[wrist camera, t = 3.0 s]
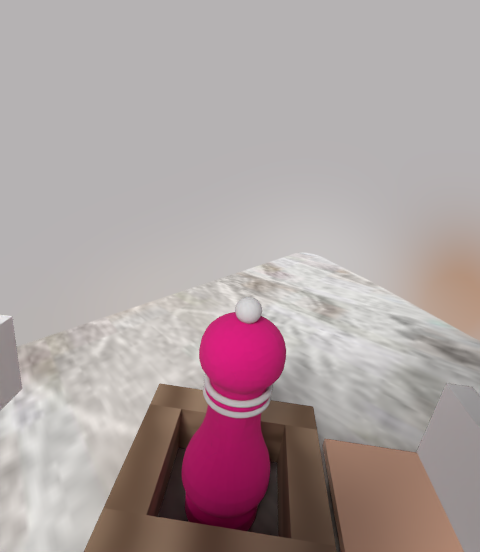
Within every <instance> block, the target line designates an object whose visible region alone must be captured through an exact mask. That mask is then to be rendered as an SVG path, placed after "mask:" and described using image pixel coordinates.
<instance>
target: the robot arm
mask: <svg viewBox="0 0 480 552" xmlns="http://www.w3.org/2000/svg"><path fill="white" fill-rule="evenodd" d="M21 389H22V384H21V377H20V369H19V362H18V355H17V348H16V340H15V333H14V326H13V319H12V316H6V315H0V410H1V409H2V408H3V407H4V406H5V405H6V404H7V403H8V402H9V401H10V400H11V399H12V398H13V397H14V396H15V395H16V394H17V393H18V392H19V391H20V390H21ZM417 453H418V456H419V458H420V460H421V462H422V464H423V466H424V468H425V470H426V472H427V475H428V477H429V479H430V481H431V483H432V485H433V487H434V489H435V491H436V494H437V496H438V498H439V500H440V502H441V504H442V506H443V508H444V510H445V512H446V515H447V517H448V519H449V521H450V523H451V525H452V527H453V529H454V531H455V534H456V536H457V538H458V540H459V542H460V544H461V546H462V548H463V550H464V552H480V395H479V394H478V393H477V392H476V391H475V389H474V388H473V387H469V386H463V385H456V384H450V383H446V385H445V387H444V389H443V392H442V394H441V396H440V399H439V401H438V403H437V406H436V408H435V410H434V412H433V415H432V417H431V419H430V422H429V424H428V426H427V429H426V431H425V433H424V436H423V438H422V440H421V443H420V445H419V447H418V449H417Z"/></svg>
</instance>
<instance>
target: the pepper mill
mask: <svg viewBox="0 0 480 552" xmlns="http://www.w3.org/2000/svg"><path fill="white" fill-rule="evenodd" d="M261 314H262V307H261V304H260V303H259V302H258V300H256V299H255V298H252V297H245V298H242V299H241V300H240V301H239V302H238V303H237V305H236V308H235V312H233V313H229V314H225V315H223V316H221V317H219V318H217V319H216V320H215V321H213V322H212V323H211V324H210V325H209V326H208V328H207V329H206V331H205V333H204V335H203V337H202V340H201V345H200V349H199V359H200V362H201V366H202V369H203V370H204V372H205V376H204V386H203V395H204V398H205V400H206V402H207V403H208V407H207V412H206V416H205V418H204V420H203V423H202V424H201V426H200V427H199V429H198V430H197V431H196V433H195V434H194V435H193V437H192V438H191V440H190V442H189V444H188V446H187V448H186V451H185V455H184V458H183V464H182V482H183V486H184V489H185V491H186V496H185V512H186V515H187V518H188V521H189V522H192V523H198V524H205V525H211V526H217V527H223V528H229V529H235V530H241V531H248V530H249V528H250V527H251V525H252V524H253V522H254V519H255V517H256V512H257V507H258V504H259V503H260V502H261V500H262V499H263V497H264V495H265V493H266V491H267V488H268V484H269V477H270V460H269V454H268V449H267V447H266V444H265V441H264V439H263V435H262V432H261V413H262V412H263V411H264V410H265V409H266V408H267V407H268V405H269V403H270V400H271V393H272V390H273V383H274V382H275V381H276V380H277V379H278V378H279V377H280V375H281V373H282V371H283V369H284V364H285V360H286V347H285V342H284V339H283V336H282V334H281V333H280V331H279V330H278V328H277V327H276V326H275V325H274V324H273V323H272V322H270V321H269V320H267V319H266V318H264V317H262V316H261Z"/></svg>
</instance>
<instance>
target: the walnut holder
mask: <svg viewBox="0 0 480 552" xmlns="http://www.w3.org/2000/svg"><path fill="white" fill-rule="evenodd" d="M207 407H208V403H207V402H206V400H205V398H204V395H203V390H199V389H192V388H186V387H179V386H172V385H166V384H159V386H158V388H157V391H156V393H155V395H154V397H153V400H152V402H151V404H150V406H149V408H148V411H147V413H146V415H145V417H144V419H143V422H142V424H141V426H140V428H139V431H138V433H137V435H136V437H135V439H134V442H133V444H132V446H131V448H130V450H129V453H128V455H127V457H126V459H125V462H124V464H123V466H122V468H121V470H120V473H119V475H118V477H117V479H116V481H115V484H114V486H113V488H112V490H111V493H110V495H109V497H108V499H107V501H106V504H105V506H104V508H103V510H102V513H101V515H100V517H99V519H98V521H97V524H96V526H95V528H94V530H93V532H92V535H91V537H90V539H89V541H88V544H87V546H86V548H85V550H84V552H337V551H336V545H335V539H334V532H333V526H332V520H331V514H330V508H329V502H328V495H327V489H326V483H325V477H324V471H323V464H322V458H321V452H320V446H319V440H318V433H317V427H316V421H315V415H314V409H313V407H312V406H305V405H298V404H292V403H285V402H279V401H272V400H270V403H269V405H268V407H267V408H266V409H265V410H264V411H263V412H262V413H261V432H262V435H263V439H264V441H265V444H266V447H267V449H268V454H269V460H270V462H276V463H277V486H278V532H279V537H278V536H272V535H266V534H260V533H254V532H248V531H241V530H235V529H229V528H223V527H217V526H211V525H205V524H198V523H192V522H186V521H180V520H174V519H168V518H162V517H158V515H159V512H160V508H161V505H162V502H163V498H164V495H165V492H166V488H167V485H168V481H169V478H170V475H171V471H172V468H173V465H174V461H175V458H176V454H177V451H178V448H179V447H180V448H187V446H188V444H189V442H190V440H191V438H192V437H193V435H194V434H195V433H196V431H197V430H198V429H199V427H200V426H201V424H202V423H203V420H204V418H205V416H206V412H207Z"/></svg>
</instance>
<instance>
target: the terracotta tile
mask: <svg viewBox="0 0 480 552" xmlns="http://www.w3.org/2000/svg"><path fill="white" fill-rule="evenodd" d="M323 451H324V457H325V463H326V468H327V474H328V480H329V486H330V492H331V498H332V503H333V509H334V515H335V521H336V527H337V532H338V538H339V544H340V550H341V552H464V550H463V548H462V546H461V544H460V542H459V540H458V538H457V536H456V534H455V531H454V529H453V527H452V525H451V523H450V521H449V519H448V517H447V515H446V512H445V510H444V508H443V506H442V504H441V502H440V500H439V498H438V496H437V494H436V491H435V489H434V487H433V485H432V483H431V481H430V479H429V477H428V475H427V472H426V470H425V468H424V466H423V464H422V462H421V460H420V458H419V456H418V453H415V452H408V451H402V450H395V449H389V448H382V447H376V446H369V445H363V444H356V443H350V442H343V441H337V440H330V439H324V442H323Z"/></svg>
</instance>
